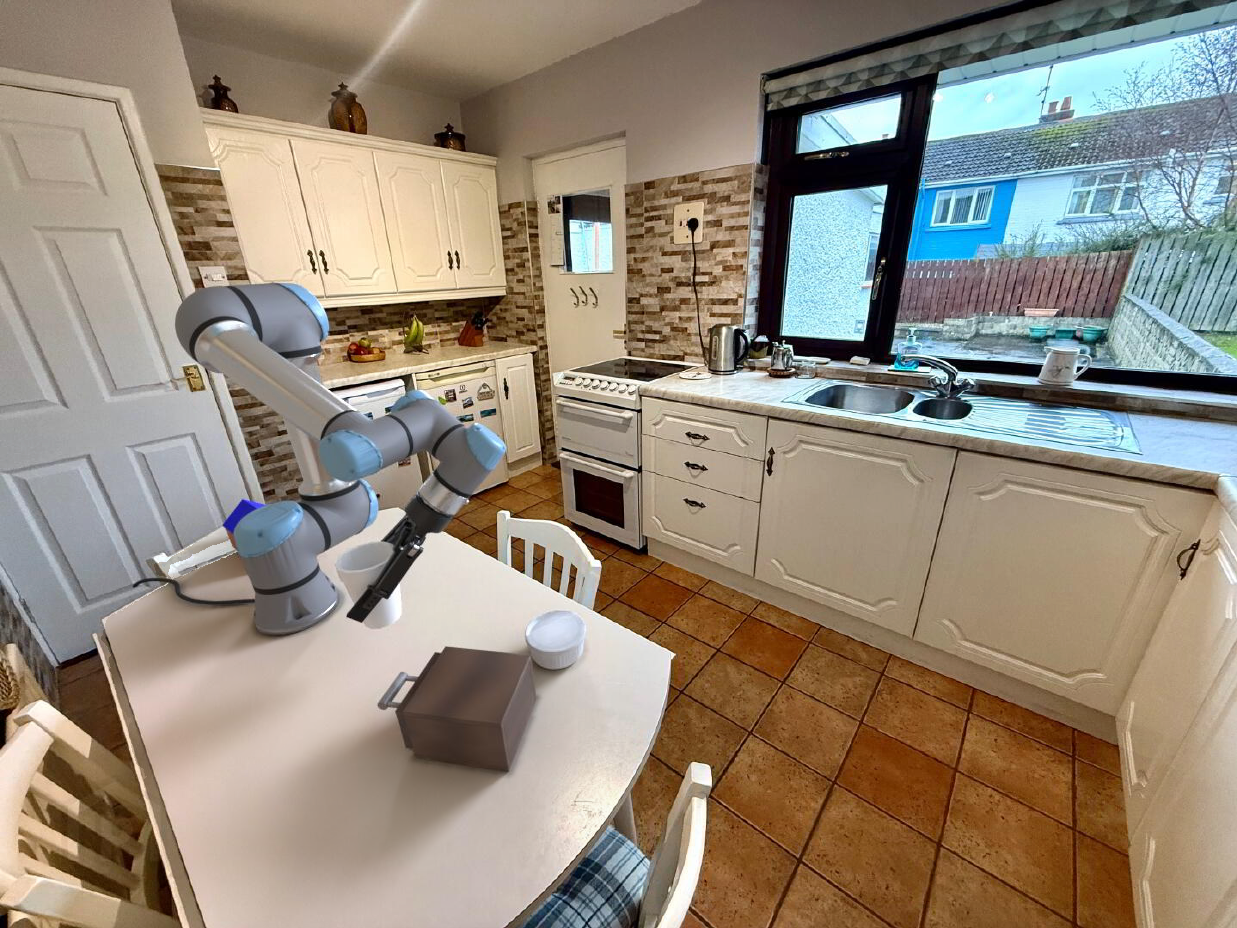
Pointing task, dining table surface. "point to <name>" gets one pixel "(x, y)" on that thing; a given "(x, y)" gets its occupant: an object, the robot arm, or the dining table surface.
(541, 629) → the ramekin
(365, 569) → the foam cup
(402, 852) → the dining table surface
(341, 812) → the dining table surface
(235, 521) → the house
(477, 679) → the cabinet
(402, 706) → the drawer
